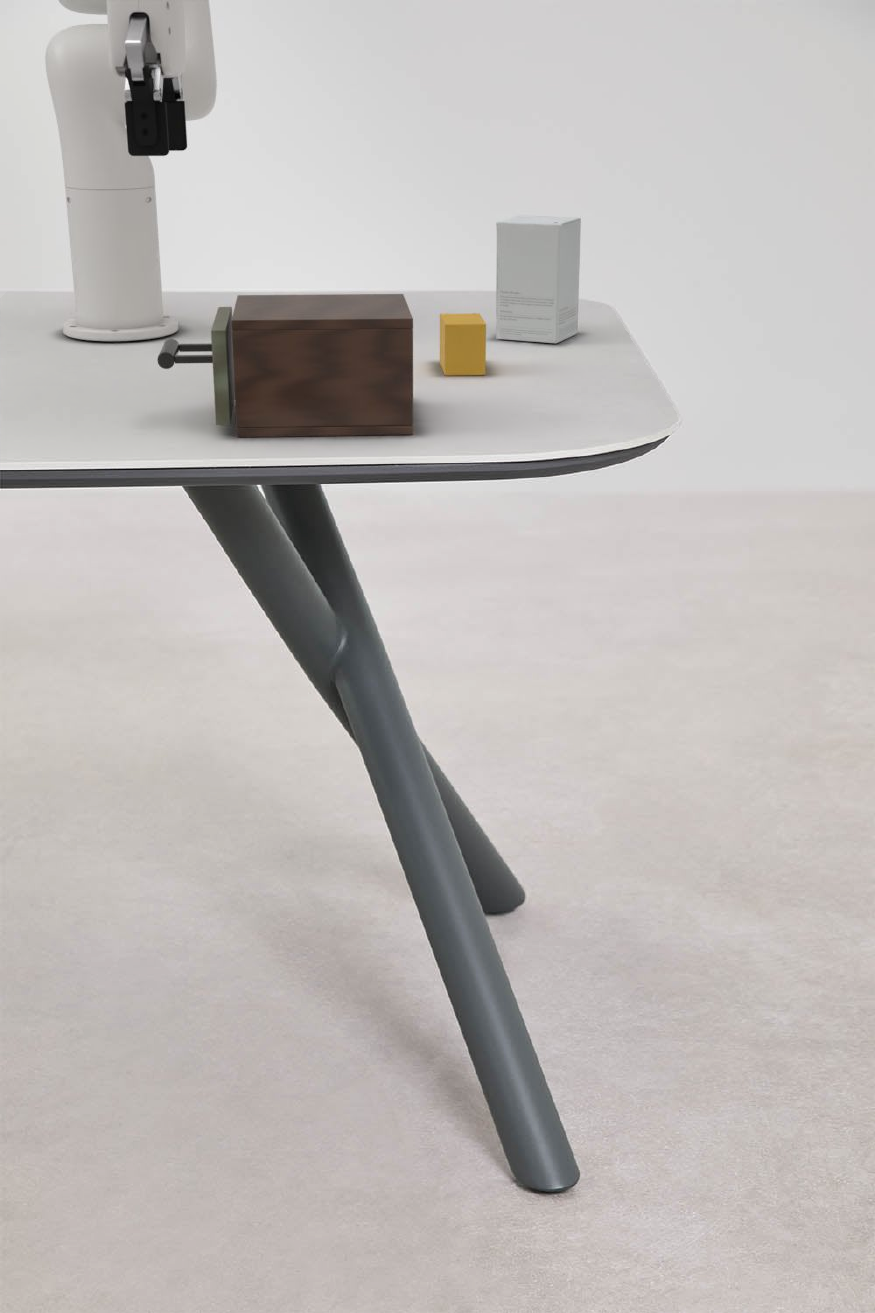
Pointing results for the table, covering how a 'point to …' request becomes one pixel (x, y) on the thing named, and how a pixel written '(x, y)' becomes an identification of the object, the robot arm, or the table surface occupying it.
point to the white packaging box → (537, 278)
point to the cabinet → (323, 365)
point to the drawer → (219, 358)
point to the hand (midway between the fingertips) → (159, 152)
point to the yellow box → (462, 344)
